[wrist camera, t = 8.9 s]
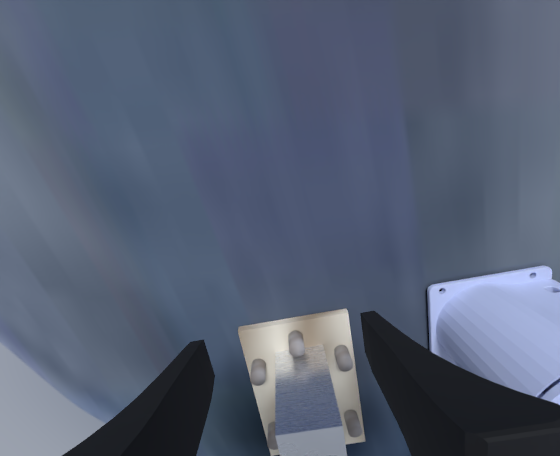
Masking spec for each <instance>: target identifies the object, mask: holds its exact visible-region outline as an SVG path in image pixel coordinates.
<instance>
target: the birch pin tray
mask: <svg viewBox="0 0 560 456" xmlns="http://www.w3.org/2000/svg"><path fill="white" fill-rule="evenodd" d="M238 333H239V337H240V341H241V345H242V349H243V352H244V356H245V360H246V364H247V367H248V371H249V375H250V382H251V383H252V386H253V390H254V394H255V398H256V401H257V405H258V409H259V413H260V416H261V420H262V424H263V428H264V431H265V435H266V439H267V446H268V448H269V450H270V454H271V456H273V455H280V453H279V449H278V445H277V441H276V437H275V352H279V351H285V350H289V353H290V354H291V355H292V356H294V357H300V356H302V355H303V354H304V352H305V347H311V346H317V345H323V346H324V351H325V355H326V359H327V363H328V367H329V371H330V375H331V379H332V384H333V388H334V392H335V396H336V400H337V404H338V408H339V412H340V417H341V421H342V425H343V431H344V438H345V445H346V444H352V443H359V442H365V435H364V428H363V420H362V413H361V405H360V398H359V390H358V383H357V375H356V368H355V360H354V353H353V345H352V338H351V330H350V323H349V315H348V311H347V309H341V310H335V311H329V312H323V313H317V314H311V315H305V316H299V317H294V318H288V319H282V320H276V321H270V322H264V323H258V324H253V325H247V326H241V327H239V329H238Z"/></svg>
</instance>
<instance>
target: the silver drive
mask: <svg viewBox="0 0 560 456" xmlns="http://www.w3.org/2000/svg"><path fill="white" fill-rule="evenodd" d="M275 437H276V441H277V445H278V449H279V453H280V456H347V452H346V445H345V438H344V431H343V425H342V421H341V417H340V412H339V408H338V404H337V400H336V396H335V392H334V388H333V384H332V379H331V375H330V371H329V367H328V363H327V359H326V355H325V351H324V346H323V345H317V346H311V347H305V352H304V354H303V355H302V356H300V357H294V356H292V355H291V354H290V353H289V350H285V351H279V352H275Z"/></svg>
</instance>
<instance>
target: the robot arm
mask: <svg viewBox="0 0 560 456" xmlns="http://www.w3.org/2000/svg"><path fill="white" fill-rule="evenodd" d="M531 273H532V274H531ZM530 274H531V275H530ZM441 288H443V289H442V291H440V292H439V290H440V289H441ZM427 299H428V322H429V346H430V351H429V350H427V349H426V348H424V347H423V346H421V345H420V344H418V343H416V342H415V341H413V340H412V339H411V338H409V337H408V336H406V335H405V334H404V333H402V332H401V331H399V330H398V329H397V328H395V327H394V326H393V325H392V324H390V323H389V322H388V321H386V320H385V319H384V318H383V317H381V316H380V315H379V314H378V313H376V312H375V311H370V312H364V313H360V314H361V322H362V330H363V339H364V347H365V353H366V355H367V358H368V361H369V364H370V366H371V369H372V372H373V374H374V376H375V378H376V380H377V382H378V384H379V386H380V388H381V390H382V392H383V394H384V396H385V398H386V400H387V402H388V404H389V406H390V408H391V410H392V412H393V414H394V416H395V418H396V420H397V422H398V425H399V427H400V429H401V431H402V433H403V436H404V438H405V440H406V443H407V446H408V448H409V451H410V453H411V456H560V283H559V282H557V281H554V280H552V269H551V268H549V267H547V266H538V267H532V268H526V269H520V270H514V271H509V272H503V273H497V274H491V275H485V276H479V277H474V278H468V279H462V280H456V281H450V282H444V283H439V284H433V285H431V286H429V287H428V289H427ZM458 366H459V367H458ZM214 378H215V375H214V372H213V368H212V365H211V362H210V359H209V355H208V352H207V349H206V346H205V342H204V340H199V341H193V342H190V343H189V344H188V345H187V346H186V347H185V348H184V349H183V350H182V351H181V352H180V354H179V355H178V356H177V357H176V358H175V359H174V360H173V361H172V362H171V363H170V364H169V365H168V367H167V368H166V369H165V370H164V371H163V372H162V373H161V374H160V375H159V376H158V377H157V378H156V379H155V380H154V381H153V382H152V383H151V384H150V385H149V386H148V387H147V388H146V389H145V390H144V391H143V392H142V393H141V394H140V395H139V396H138V397H137V398H136V399H135V400H134V401H133V402H131V403H130V404H129V405H128V406H127V407H126V408H125V409H123V410H122V411H121V412H120V413H119V414H118V415H116V416H115V417H114V418H113V419H112V420H110V421H109V422H108V423H106V424H105V425H104V426H102V427H101V428H100V429H99V430H97V431H96V432H95V433H94V434H92V435H91V436H90V437H88V438H87V439H86V440H84V441H83V442H81V443H80V444H79V445H77V446H76V447H74V448H73V449H71V450H70V451H68V452H67V453H65V454H64V455H63V456H196V454H197V450H198V447H199V443H200V439H201V436H202V432H203V429H204V425H205V421H206V418H207V414H208V410H209V406H210V403H211V398H212V392H213V385H214Z"/></svg>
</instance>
